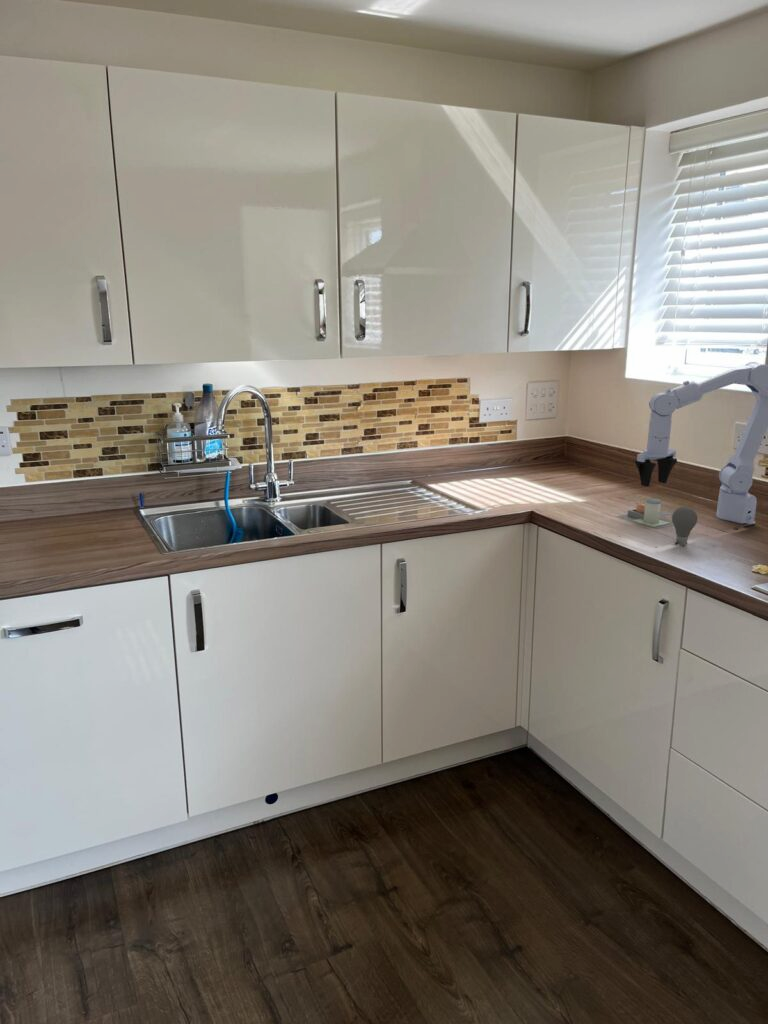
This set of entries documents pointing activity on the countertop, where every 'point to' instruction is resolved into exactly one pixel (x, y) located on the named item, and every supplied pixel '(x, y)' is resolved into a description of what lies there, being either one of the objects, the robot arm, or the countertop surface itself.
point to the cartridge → (652, 510)
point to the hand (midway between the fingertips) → (653, 484)
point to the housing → (639, 518)
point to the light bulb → (684, 523)
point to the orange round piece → (640, 508)
